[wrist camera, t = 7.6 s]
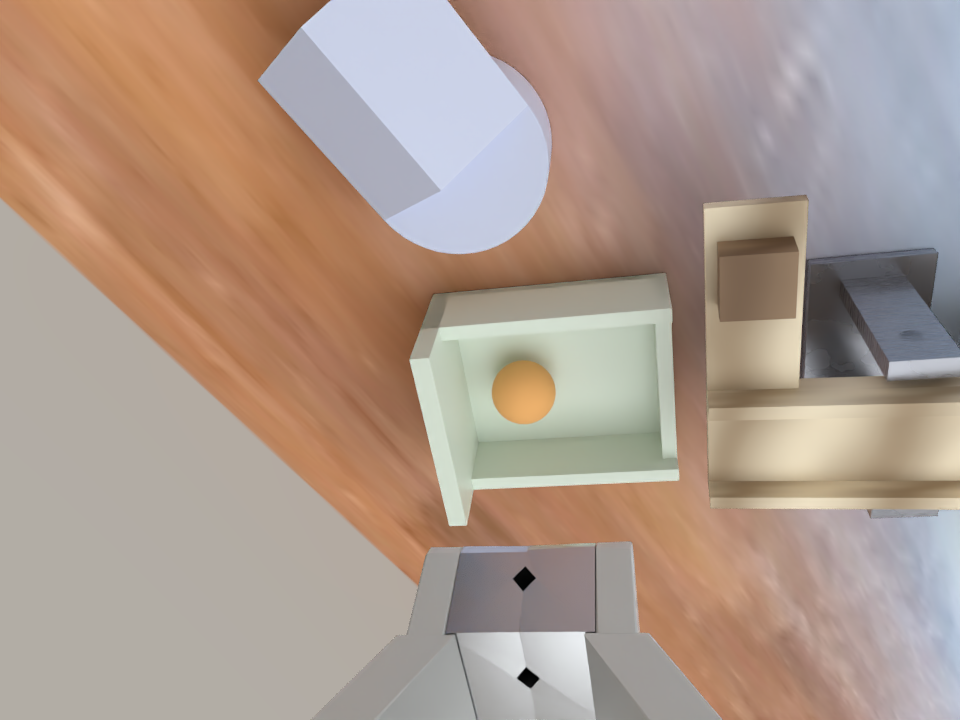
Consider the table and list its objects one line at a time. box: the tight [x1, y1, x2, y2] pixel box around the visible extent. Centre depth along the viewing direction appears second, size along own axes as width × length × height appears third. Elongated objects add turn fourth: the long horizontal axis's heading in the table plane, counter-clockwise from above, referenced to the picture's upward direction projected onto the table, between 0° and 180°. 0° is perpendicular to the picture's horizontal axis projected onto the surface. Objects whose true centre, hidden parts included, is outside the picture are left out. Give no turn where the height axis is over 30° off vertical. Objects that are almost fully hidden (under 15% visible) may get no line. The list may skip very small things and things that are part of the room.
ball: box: [492, 360, 556, 424], centre depth 45 cm, size 4×4×4 cm
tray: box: [409, 273, 679, 526], centre depth 44 cm, size 13×11×7 cm
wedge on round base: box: [258, 0, 552, 254], centre depth 37 cm, size 9×7×13 cm
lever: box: [703, 195, 960, 510], centre depth 34 cm, size 18×15×6 cm
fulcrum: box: [802, 248, 960, 518], centre depth 39 cm, size 12×11×9 cm
